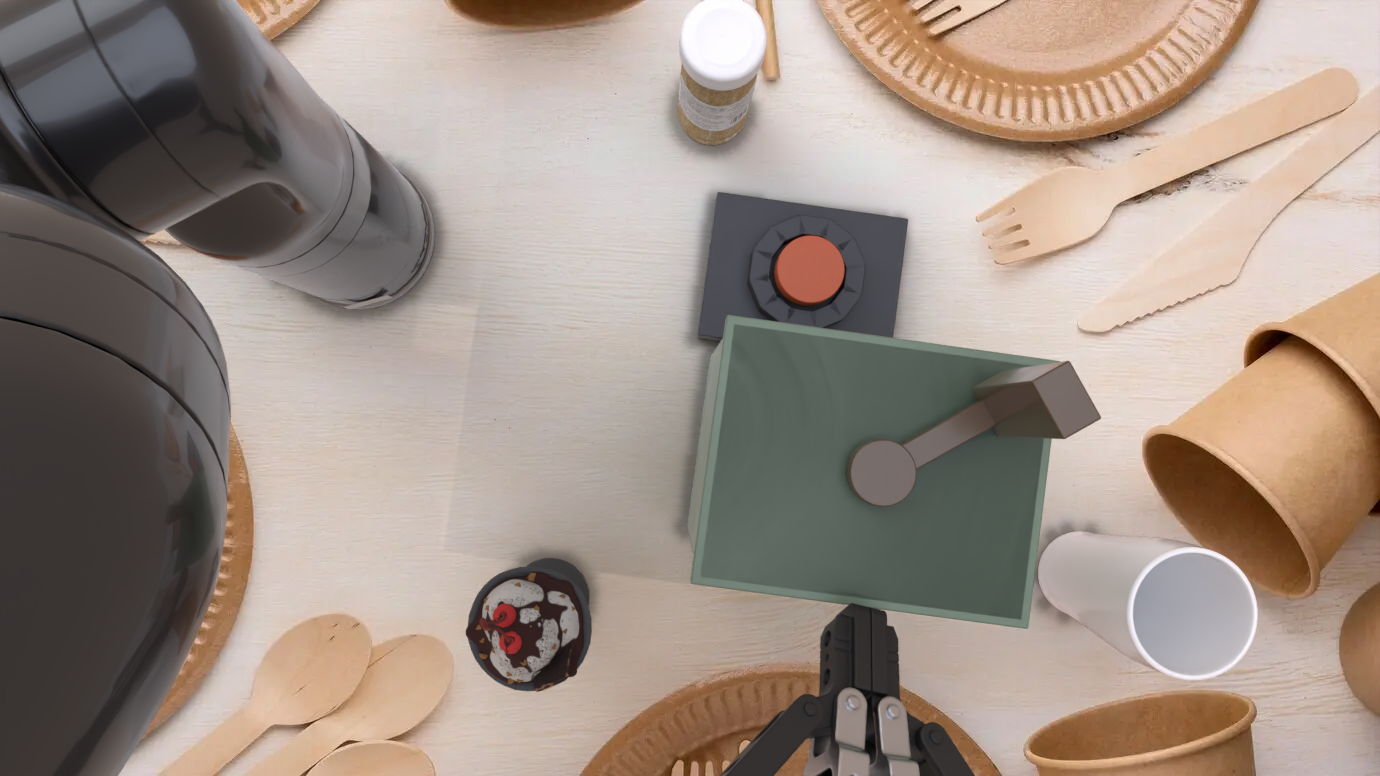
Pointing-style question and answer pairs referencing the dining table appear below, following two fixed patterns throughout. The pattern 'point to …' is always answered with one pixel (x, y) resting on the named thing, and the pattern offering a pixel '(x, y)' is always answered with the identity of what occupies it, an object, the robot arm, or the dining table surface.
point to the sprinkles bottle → (719, 68)
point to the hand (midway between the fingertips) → (858, 613)
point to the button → (809, 270)
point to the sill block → (815, 492)
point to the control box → (756, 239)
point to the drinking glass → (1154, 600)
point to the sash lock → (977, 427)
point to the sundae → (531, 625)
